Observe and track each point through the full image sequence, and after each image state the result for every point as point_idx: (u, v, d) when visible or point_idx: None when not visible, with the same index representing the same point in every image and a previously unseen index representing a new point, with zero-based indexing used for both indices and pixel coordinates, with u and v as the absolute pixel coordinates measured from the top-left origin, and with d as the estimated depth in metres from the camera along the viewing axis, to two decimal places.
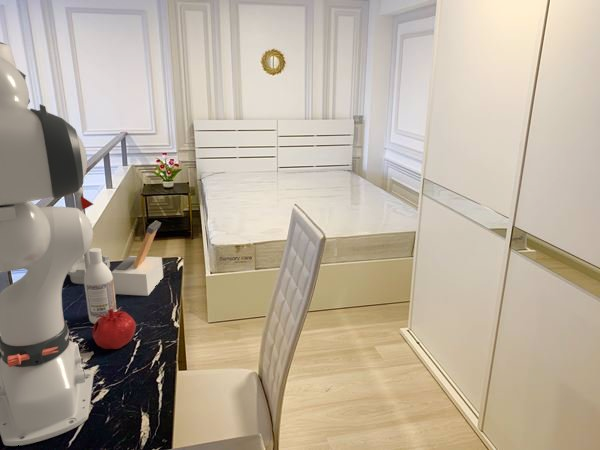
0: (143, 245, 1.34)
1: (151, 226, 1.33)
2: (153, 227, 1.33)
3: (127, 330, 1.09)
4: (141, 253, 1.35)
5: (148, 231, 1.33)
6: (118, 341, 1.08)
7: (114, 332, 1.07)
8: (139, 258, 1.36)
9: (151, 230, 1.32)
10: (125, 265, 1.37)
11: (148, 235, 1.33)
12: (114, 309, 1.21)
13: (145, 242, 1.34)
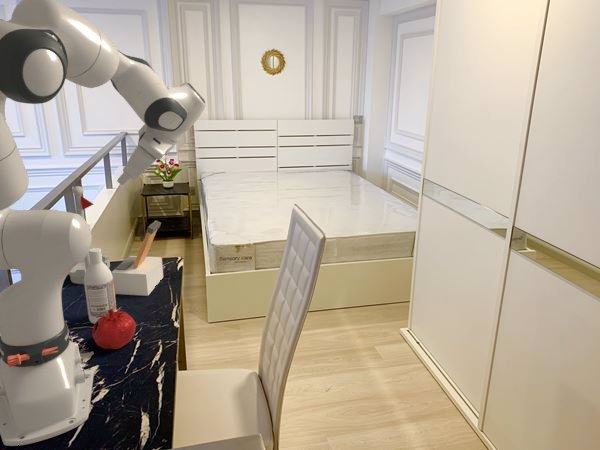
0: (143, 245, 1.34)
1: (151, 226, 1.33)
2: (153, 227, 1.33)
3: (127, 330, 1.09)
4: (141, 253, 1.35)
5: (148, 231, 1.33)
6: (118, 341, 1.08)
7: (114, 332, 1.07)
8: (139, 258, 1.36)
9: (151, 230, 1.32)
10: (125, 265, 1.37)
11: (148, 235, 1.33)
12: (114, 309, 1.21)
13: (145, 242, 1.34)
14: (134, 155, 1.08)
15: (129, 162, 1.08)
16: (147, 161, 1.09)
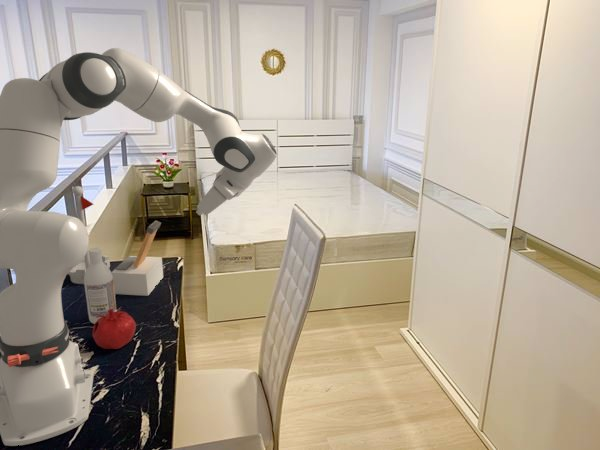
0: (143, 245, 1.34)
1: (151, 226, 1.33)
2: (153, 227, 1.33)
3: (127, 330, 1.09)
4: (141, 253, 1.35)
5: (148, 231, 1.33)
6: (118, 341, 1.08)
7: (114, 332, 1.07)
8: (139, 258, 1.36)
9: (151, 230, 1.32)
10: (125, 265, 1.37)
11: (148, 235, 1.33)
12: (114, 309, 1.21)
13: (145, 242, 1.34)
14: (208, 194, 1.21)
15: (203, 199, 1.21)
16: (218, 200, 1.21)
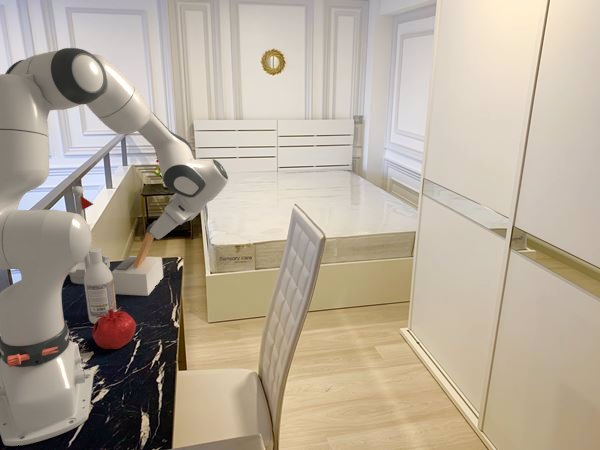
0: (143, 245, 1.34)
1: (151, 226, 1.33)
2: None
3: (127, 330, 1.09)
4: (141, 253, 1.35)
5: (148, 231, 1.33)
6: (118, 341, 1.08)
7: (114, 332, 1.07)
8: (139, 258, 1.36)
9: None
10: (125, 265, 1.37)
11: (148, 235, 1.33)
12: (114, 309, 1.21)
13: (145, 242, 1.34)
14: (159, 219, 1.24)
15: (154, 224, 1.24)
16: (170, 225, 1.25)
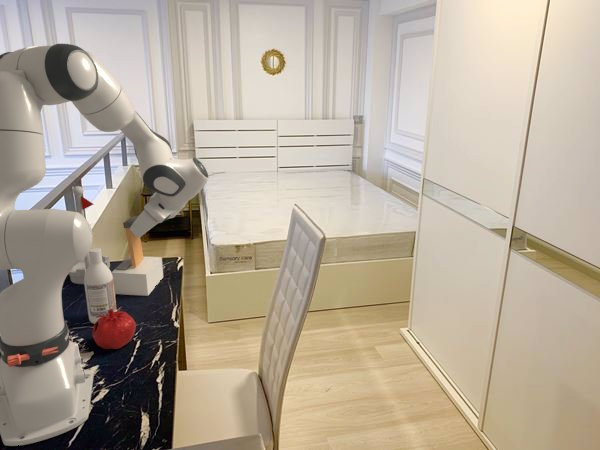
0: (129, 242, 1.34)
1: (127, 221, 1.33)
2: (129, 221, 1.33)
3: (127, 330, 1.09)
4: (132, 251, 1.35)
5: (125, 226, 1.33)
6: (118, 341, 1.08)
7: (114, 332, 1.07)
8: (133, 256, 1.36)
9: (127, 224, 1.32)
10: (125, 265, 1.37)
11: (128, 230, 1.33)
12: (114, 309, 1.21)
13: (129, 238, 1.34)
14: (139, 217, 1.25)
15: (134, 223, 1.25)
16: (149, 223, 1.25)
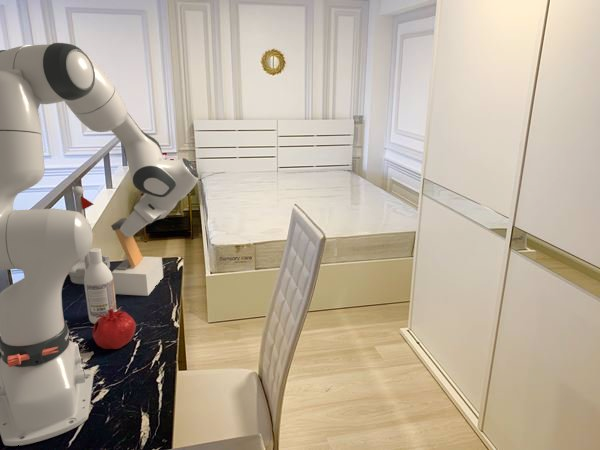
0: (122, 243, 1.34)
1: (114, 223, 1.34)
2: (116, 223, 1.34)
3: (127, 330, 1.09)
4: (127, 251, 1.35)
5: (114, 228, 1.33)
6: (118, 341, 1.08)
7: (114, 332, 1.07)
8: (129, 256, 1.36)
9: (115, 226, 1.33)
10: (125, 265, 1.37)
11: (118, 232, 1.33)
12: (114, 309, 1.21)
13: (121, 239, 1.34)
14: (129, 218, 1.25)
15: (124, 223, 1.25)
16: (139, 224, 1.25)
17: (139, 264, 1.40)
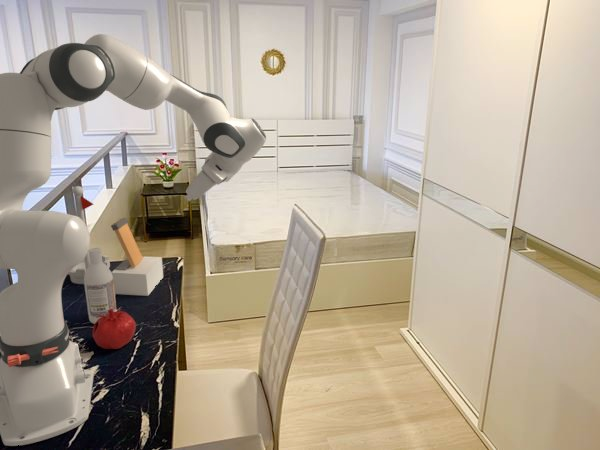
0: (122, 243, 1.34)
1: (114, 223, 1.34)
2: (116, 223, 1.34)
3: (127, 330, 1.09)
4: (127, 251, 1.35)
5: (114, 228, 1.33)
6: (118, 341, 1.08)
7: (114, 332, 1.07)
8: (129, 256, 1.36)
9: (115, 226, 1.33)
10: (125, 265, 1.37)
11: (117, 232, 1.33)
12: (114, 309, 1.21)
13: (121, 239, 1.34)
14: (196, 178, 1.20)
15: (191, 184, 1.20)
16: (207, 185, 1.21)
17: (139, 264, 1.40)
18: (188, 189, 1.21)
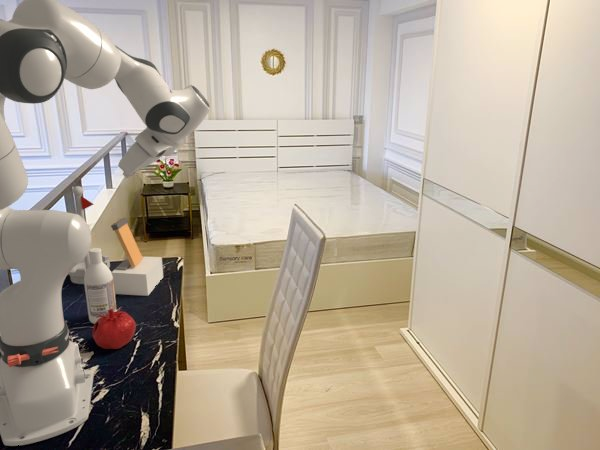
0: (122, 243, 1.34)
1: (114, 223, 1.34)
2: (116, 223, 1.34)
3: (127, 330, 1.09)
4: (127, 251, 1.35)
5: (114, 228, 1.33)
6: (118, 341, 1.08)
7: (114, 332, 1.07)
8: (129, 256, 1.36)
9: (115, 226, 1.33)
10: (125, 265, 1.37)
11: (117, 232, 1.33)
12: (114, 309, 1.21)
13: (121, 239, 1.34)
14: (129, 150, 1.08)
15: (124, 157, 1.08)
16: (141, 158, 1.09)
17: (139, 264, 1.40)
18: (120, 162, 1.09)
